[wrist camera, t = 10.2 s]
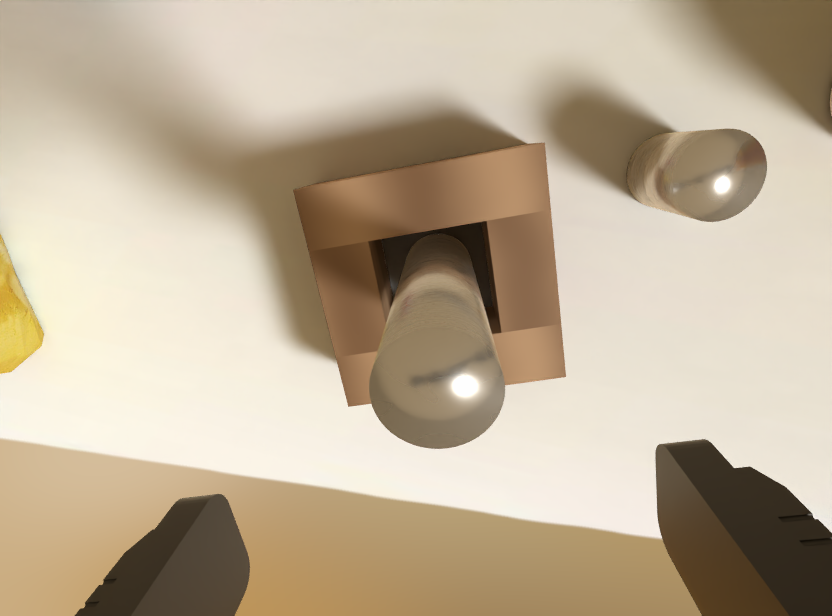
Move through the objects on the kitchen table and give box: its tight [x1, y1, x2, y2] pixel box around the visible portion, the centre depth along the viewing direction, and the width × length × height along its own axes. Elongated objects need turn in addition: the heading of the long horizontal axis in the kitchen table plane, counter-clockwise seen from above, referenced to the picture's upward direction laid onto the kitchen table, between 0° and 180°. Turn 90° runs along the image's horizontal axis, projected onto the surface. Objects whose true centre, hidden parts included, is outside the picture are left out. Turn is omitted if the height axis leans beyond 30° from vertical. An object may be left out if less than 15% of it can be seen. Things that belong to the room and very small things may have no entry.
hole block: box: [293, 143, 566, 407], centre depth 24 cm, size 11×11×4 cm
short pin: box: [627, 129, 767, 222], centre depth 21 cm, size 4×4×5 cm
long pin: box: [369, 233, 505, 449], centre depth 19 cm, size 4×4×14 cm
